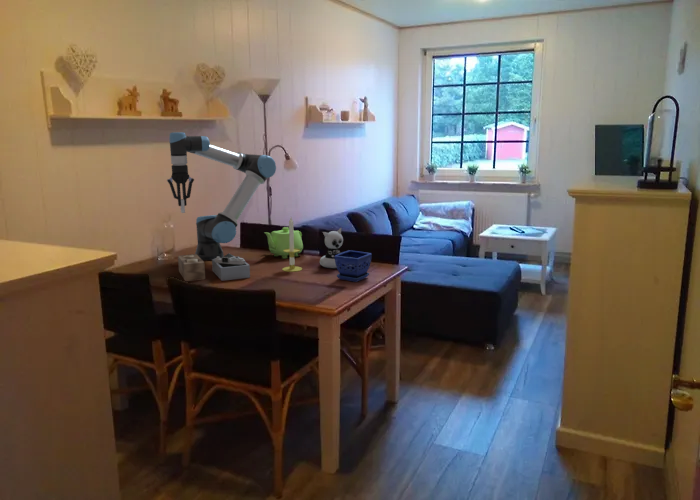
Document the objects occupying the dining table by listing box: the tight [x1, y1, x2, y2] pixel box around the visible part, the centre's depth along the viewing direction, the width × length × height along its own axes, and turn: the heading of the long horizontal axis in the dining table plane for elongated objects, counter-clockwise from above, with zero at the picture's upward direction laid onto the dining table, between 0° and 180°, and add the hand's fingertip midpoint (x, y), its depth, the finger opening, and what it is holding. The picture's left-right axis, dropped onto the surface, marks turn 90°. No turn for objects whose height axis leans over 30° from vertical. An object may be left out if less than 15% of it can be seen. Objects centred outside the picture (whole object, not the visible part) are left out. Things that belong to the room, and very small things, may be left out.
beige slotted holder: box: [177, 253, 206, 282], centre depth 266 cm, size 9×20×8 cm, turn 25°
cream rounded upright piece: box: [187, 259, 198, 263], centre depth 263 cm, size 5×5×8 cm
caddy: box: [211, 256, 251, 281], centre depth 268 cm, size 14×20×6 cm, turn 25°
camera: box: [215, 252, 246, 267], centre depth 269 cm, size 16×9×10 cm, turn 74°
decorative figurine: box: [319, 227, 344, 269], centre depth 283 cm, size 15×15×20 cm
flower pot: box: [334, 249, 373, 283], centre depth 260 cm, size 13×13×12 cm
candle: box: [281, 216, 303, 273], centre depth 275 cm, size 10×10×27 cm
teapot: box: [263, 226, 304, 260], centre depth 308 cm, size 25×22×16 cm
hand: (183, 212), depth 276 cm, fingers closed
